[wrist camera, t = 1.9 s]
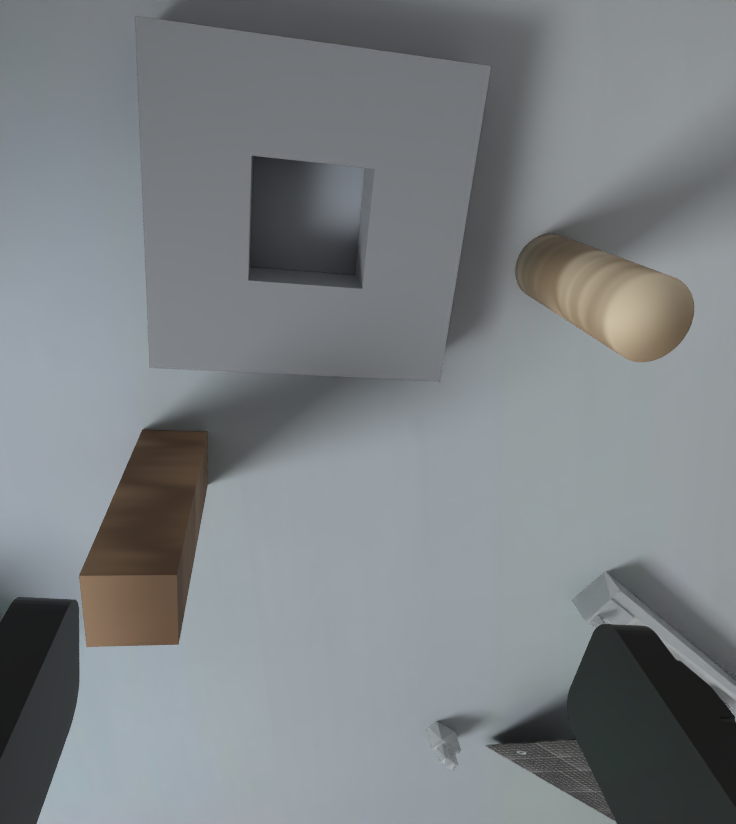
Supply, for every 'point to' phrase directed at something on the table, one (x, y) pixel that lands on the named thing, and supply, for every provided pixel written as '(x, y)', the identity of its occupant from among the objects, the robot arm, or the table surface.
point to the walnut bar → (147, 544)
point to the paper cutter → (565, 757)
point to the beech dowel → (607, 296)
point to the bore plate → (312, 142)
